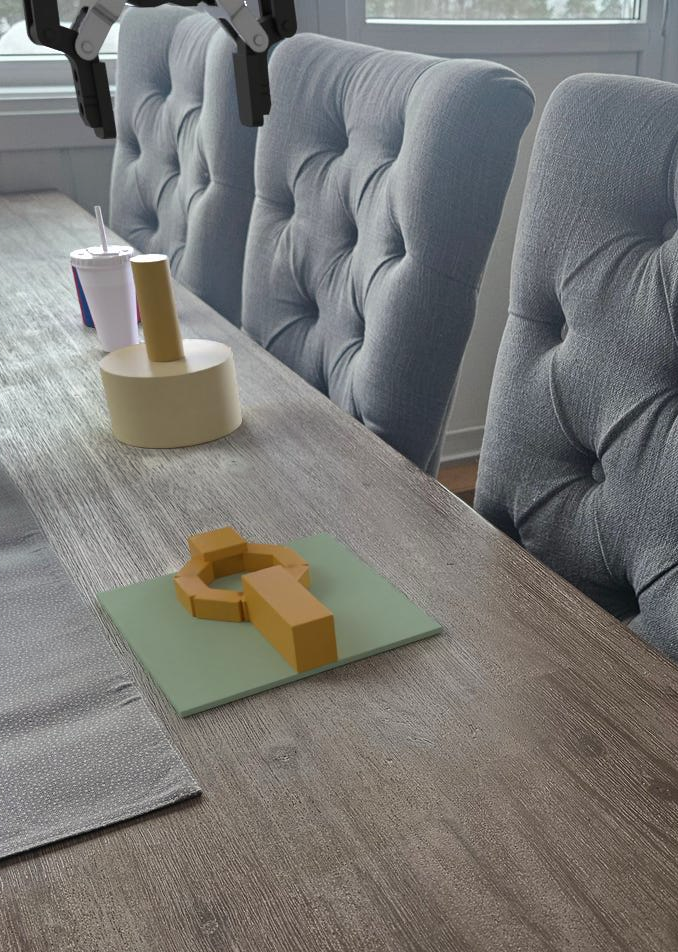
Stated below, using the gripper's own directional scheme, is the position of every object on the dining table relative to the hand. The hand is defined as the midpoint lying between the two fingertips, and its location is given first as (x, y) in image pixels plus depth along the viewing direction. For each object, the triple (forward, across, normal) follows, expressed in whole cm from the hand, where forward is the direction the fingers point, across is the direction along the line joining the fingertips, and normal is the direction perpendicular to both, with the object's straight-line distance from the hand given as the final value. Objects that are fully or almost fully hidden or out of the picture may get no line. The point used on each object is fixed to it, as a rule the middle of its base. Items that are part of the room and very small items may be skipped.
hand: (180, 131), depth 64 cm
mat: (+26, +2, +11) cm, 28 cm away
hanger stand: (+26, -4, -25) cm, 37 cm away
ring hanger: (+25, +2, +11) cm, 27 cm away
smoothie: (+26, -7, -52) cm, 59 cm away
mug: (+27, -9, -65) cm, 71 cm away
